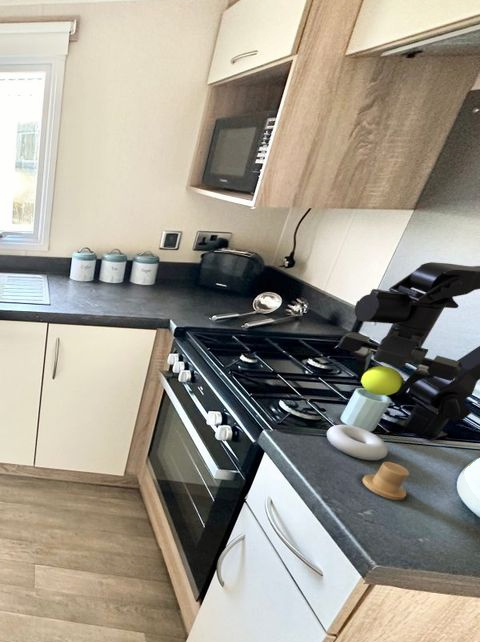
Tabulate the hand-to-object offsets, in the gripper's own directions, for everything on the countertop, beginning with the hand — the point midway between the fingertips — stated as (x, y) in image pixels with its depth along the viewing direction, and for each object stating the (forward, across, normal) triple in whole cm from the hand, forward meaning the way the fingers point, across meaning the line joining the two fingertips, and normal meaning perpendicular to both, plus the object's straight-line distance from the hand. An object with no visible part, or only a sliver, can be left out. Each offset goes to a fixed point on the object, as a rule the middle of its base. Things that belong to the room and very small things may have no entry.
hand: (377, 388), depth 93 cm
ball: (-2, 0, 0) cm, 2 cm away
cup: (+10, 0, 0) cm, 10 cm away
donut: (+10, +2, -13) cm, 16 cm away
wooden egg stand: (+10, +9, -23) cm, 27 cm away
